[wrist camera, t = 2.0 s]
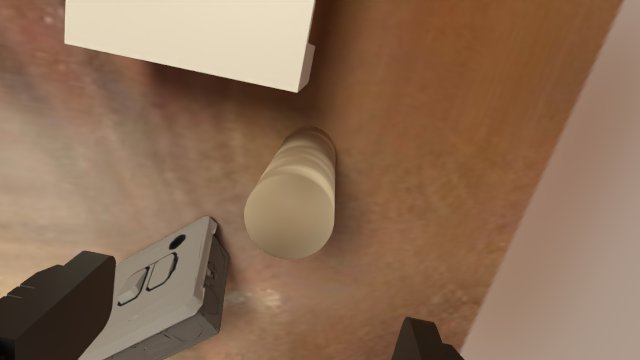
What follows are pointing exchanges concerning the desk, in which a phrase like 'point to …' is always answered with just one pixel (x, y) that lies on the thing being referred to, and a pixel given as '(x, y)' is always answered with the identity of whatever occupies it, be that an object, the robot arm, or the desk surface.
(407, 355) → the robot arm
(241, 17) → the guard housing
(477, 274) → the desk surface
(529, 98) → the desk surface
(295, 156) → the round beige peg
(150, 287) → the electrical switch
